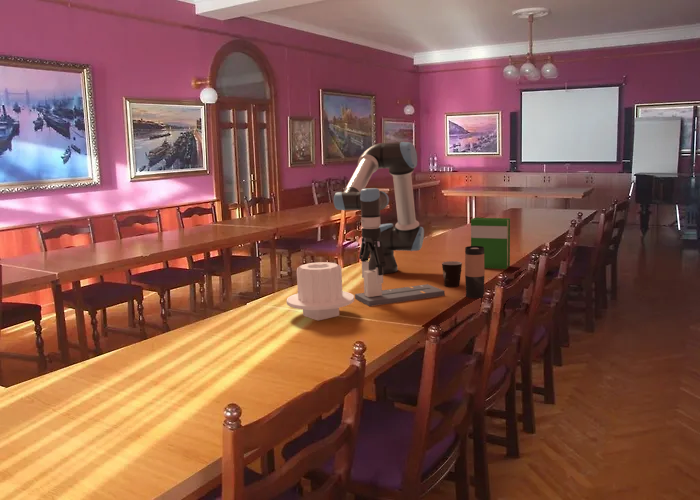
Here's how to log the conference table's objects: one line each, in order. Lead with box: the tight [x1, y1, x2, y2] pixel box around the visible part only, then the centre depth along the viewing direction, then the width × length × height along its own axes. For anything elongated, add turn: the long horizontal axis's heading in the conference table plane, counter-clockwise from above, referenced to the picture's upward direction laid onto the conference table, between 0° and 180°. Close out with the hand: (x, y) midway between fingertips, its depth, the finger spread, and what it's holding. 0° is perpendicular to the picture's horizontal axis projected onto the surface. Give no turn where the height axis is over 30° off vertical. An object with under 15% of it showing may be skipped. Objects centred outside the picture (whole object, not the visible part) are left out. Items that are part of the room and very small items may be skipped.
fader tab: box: [363, 270, 383, 297], centre depth 249 cm, size 4×6×10 cm
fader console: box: [354, 283, 445, 307], centre depth 254 cm, size 14×34×2 cm, turn 113°
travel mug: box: [464, 245, 485, 299], centre depth 250 cm, size 8×8×20 cm
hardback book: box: [470, 217, 511, 270], centre depth 307 cm, size 18×7×24 cm, turn 65°
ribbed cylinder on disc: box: [286, 261, 355, 321], centre depth 230 cm, size 25×25×19 cm
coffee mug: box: [441, 260, 463, 288], centre depth 272 cm, size 12×9×10 cm
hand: (372, 280), depth 248 cm, fingers open, 13 cm apart
